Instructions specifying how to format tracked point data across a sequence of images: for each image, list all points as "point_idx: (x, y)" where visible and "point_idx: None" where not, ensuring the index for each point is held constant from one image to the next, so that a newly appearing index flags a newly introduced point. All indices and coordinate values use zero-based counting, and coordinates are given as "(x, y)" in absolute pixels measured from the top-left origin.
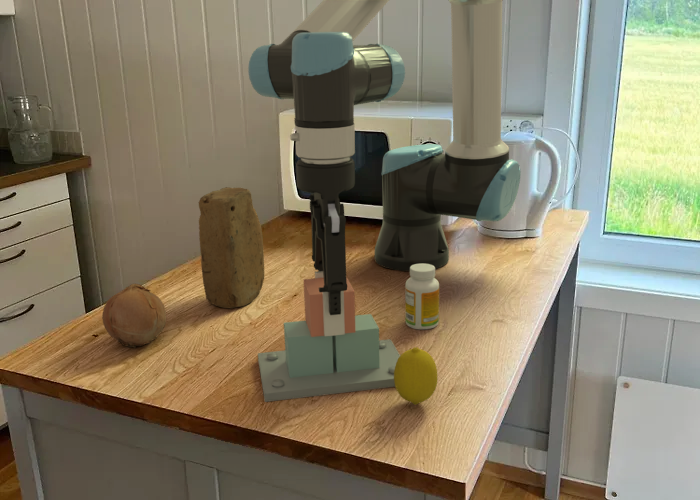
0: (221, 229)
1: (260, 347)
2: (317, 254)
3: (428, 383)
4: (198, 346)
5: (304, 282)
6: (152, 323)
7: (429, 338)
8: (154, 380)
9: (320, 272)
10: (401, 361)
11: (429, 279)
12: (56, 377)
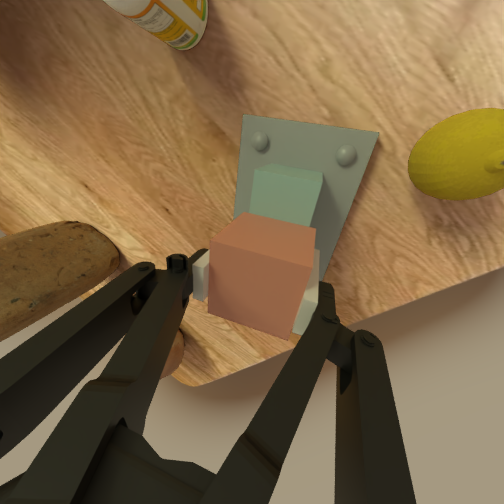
0: (20, 324)
1: None
2: (176, 329)
3: None
4: (190, 304)
5: (221, 316)
6: (175, 347)
7: (241, 21)
8: (237, 344)
9: (199, 292)
10: (471, 196)
11: None
12: (213, 377)
